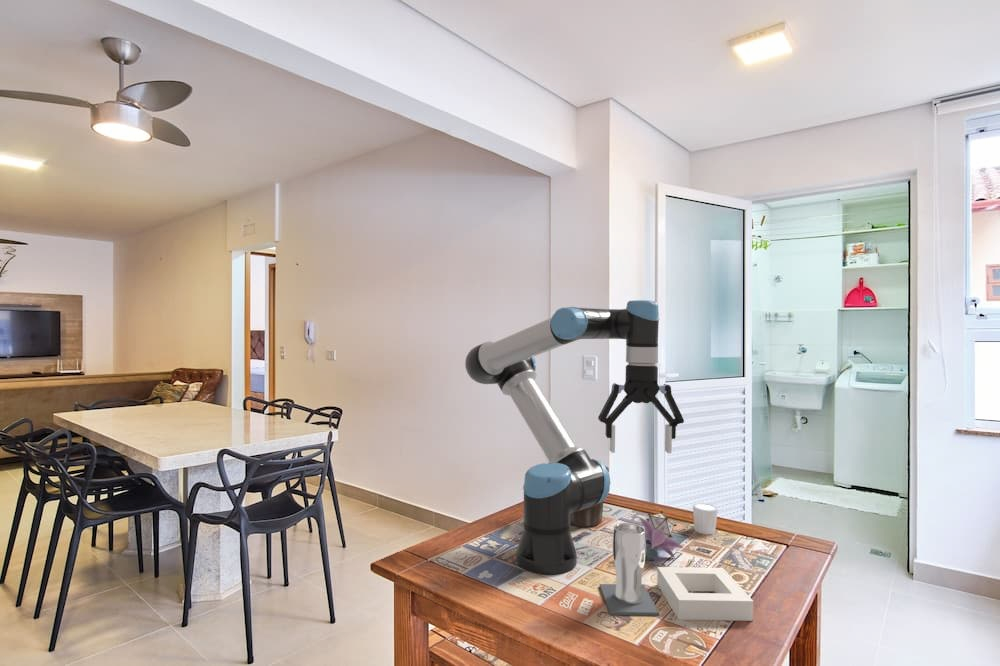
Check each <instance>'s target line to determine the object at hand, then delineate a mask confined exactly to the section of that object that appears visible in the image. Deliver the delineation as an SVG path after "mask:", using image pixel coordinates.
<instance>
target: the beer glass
mask: <svg viewBox="0 0 1000 666" xmlns="http://www.w3.org/2000/svg"><path fill="white" fill-rule="evenodd" d="M612 535H613V538H612V556H613V563H614V570H615V576H616V577H615V580H616V581H615V584H616V588H615V592H614V597H615V599H616V600H618V601H619V602H621V603H624V604H630V605H634V604H639V603H641V602H642V601H643V593H642V586H641V585H642V578H643V572H644V568H645V563H646V556H647V555H646V554H647V538H646V537H645V528H644V526H643V525H640V524H636V523H633V522H632V523H631V522H620V523H617V524H615V525H614V526H613V534H612Z"/></svg>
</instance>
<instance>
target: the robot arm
mask: <svg viewBox="0 0 1000 666" xmlns="http://www.w3.org/2000/svg"><path fill="white" fill-rule="evenodd" d="M625 307H626V308H622V309H616V308H615V309H613V308H612V309H610V308H608V309H606V308H591V307H589V308H587V307H576V306H568V307H561V308H559V309H557V310H555V312H554V314H553V315H552V316H551V317H550V318H548V319H546V320H543V321H540V322H539V323H536V324H533V325H532V326H531V325H530V326H529V327H526V328H525V329H522V330H520V331H517V332H515V333H513V334H511V335H507V337H504V338H501V339H499V340H496V341H495V342H493V341H486V342H483V343H481V344H479V345H476V346H475V347H472V348H471V350H469V352H468V353H467V355H466V357H465V362H464V364H465V365H464V366H465V370H466V373H467V375H468V376H469V377H470V379H472V380H473V381H474V382H476V383H478V384H482V385H495V384H497V386H498V387H499V388H500V391H501V393H502V394H503V395H505V396H510V397H511V399H512V401H513V403H514V404H515V406H516V408H517V409H518V411H519V412H520V413H519V414H521V416H522V418H523V419H524V421H525V423H526V425H527V426H528V428H529V430H530V431H531V433H532V435H533V437H534V438H535V441H536V442H537V443H538V445H539V446H540V448H541V450H542V452H543V454H544V455H545V457H546V458H547V460H548V463H545V462H544V463H540V464H536V465H534V466H533V465H532V467H529V469H527V471H526V472H525V474H524V483H523V489H522V490H523V530H522V532H521V535H520V539H519V541H518V545H517V548H516V551H515V552H516V553H515V556H516V557H515V561H516V563H517V565H518V566H520V567H521V568H522V569H524V570H526V571H528V572H533V573H536V574H542V575H543V574H544V575H558V574H563V573H567V572H569V571H571V570H573V569H574V568H575V567H576V566H577V563H578V562H577V560H578V556H577V555H578V554H577V550H576V547H575V544H574V540H573V536H572V534H571V525H570V514H571V513H574V512H577V511H580V510H582V509H585V508H588V507H593V506H595V505H596V504H598V503H600V502H602V501H603V500H604V501H605V500H606V499H607V497H608V495H609V493H610V490H611V476H610V473H609V472H608V470H607V469H606V467H607V466H606V465H605V464H604V463H602V462H601V461H600V460H596V459H594V458H590V455H589V454H588V453H587V451H586V450H585V448H581V447H577V446H576V444H575V442H574V441H573V440H572V438H571V436H570V434H569V433H568V431H567V430H566V428H565V426H564V425H563V423H562V422H561V419H559V417H558V416H557V414H556V412H555V410H554V409H553V408H552V406H551V404H550V403H549V401H548V399H547V398H546V396H545V394H544V393H543V391H542V390H541V388H540V387H539V385H538V383H537V382H536V378H537V372H536V369H537V365H536V358H535V357H536V356H538V355H541V354H544V353H546V352H549V351H551V350H554V349H557V348H559V347H562V346H564V345H568V344H570V343H573V342H575V341H579V340H605V339H606V340H620V339H621V340H625V363H627V364H626V365H625V382H624V384H618V383H616V382H615V383H613V384H612V385H611V391H610V394H609V395H608V398H607V400H606V402H605V404H604V406H603V407H602V409H601V412H600V413H599V415H598V418H597V419H598V420H599V422H601V423H603V424H605V437H606V439H609V446H608V447H609V451H610V452H611V453H612V454H613V453H614V454H615V453H616V424H614V422H615V421H616V420H617V419H618V417H620V415H621V414H622V413H623V412H624V411H625V410H626V408H627V407H629V405H631V404H632V403H636V404H641V403H643V404H649V403H652V405H653V406H654V407H655V408H656V409H657V411H658V412H659V413H660V414H661V415H662V417H663V418H664V419H665V420H666V422H668V424H667V423H666V424H665V427H664V429H665V430H664V432H665V434H664V451H665V453H667V454H672V444H673V442H672V441H673V440H675V439H676V437H677V436H676V435H677V434H676V433H677V429H676V428H677V427H678V425H680V424H684V422H685V419H684V417H683V415H682V413H681V411H680V408H679V407H678V404H677V403H676V401H675V398H674V396H673V394H672V386H671V384H670V385H669V384H667V383H664V384H663V385H662V384H661V385H659V384H658V379H659V376H658V372H659V368H658V367H659V366H657V365H656V364H658V362H659V343H658V342H659V324H660V323H659V321H660V317H659V315H660V314H659V304H658V303H657V302H656V301H655V300H647V299H646V300H645V299H644V300H643V299H641V300H638V299H637V300H629V301H627V303H626V306H625ZM623 391H624V392H625V394H626V395H625V396H624V397H623V399H622V400H621V402H620V403H619V404H618V405H617V406H616V407H615V409H614V410H612V411H611V409H612V408H613V406H614V404H615V402H616V400H617V398H618V396H619V394H621V393H622V392H623ZM659 392H660V393H661V394H663V395H664V398H665V400H666V402H667V404H668V407H669V408H670V411H671V412H672V414H673V417H672V415H671V414H670V413H669V411H668V410H667V409H666V408H665V407H664V405H663V404H662V403H661V401H660V400H659V399H658V397H657V396H656V395H657V394H658V393H659ZM610 411H611V413H610ZM609 413H610V414H609ZM605 466H606V467H605ZM604 501H603V502H604Z"/></svg>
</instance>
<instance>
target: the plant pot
mask: <svg viewBox="0 0 1000 666" xmlns="http://www.w3.org/2000/svg"><path fill="white" fill-rule="evenodd" d="M604 466H605V467H606V469H607V470H608V473H609V472H610V468H609V467H608V466H606V465H604ZM604 501H605V499H604V500H603V501H602V502H600V503H598V504H596V505H595V506H593V507H588V508H585V509H582V510H580V511H577V512H574V513H571V514H570V526H572V525H575V526H576V527H577V528H579V527H581V528H591V526H592V527H595V526H598V525H600V523H602V521H603V511H604Z"/></svg>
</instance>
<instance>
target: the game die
mask: <svg viewBox="0 0 1000 666" xmlns="http://www.w3.org/2000/svg"><path fill="white" fill-rule="evenodd" d="M663 513H664V512H663V510H660V513H656V514H653V515H652V514H651V513H649V512H648V513H647V514H648V516H649V517H648V518H646V519H645V521H647V522H648V523H649V524H651V525H652V526H653V527H654V529H655V530H656V529H659V528H660V529H662V530H663V532H664V534H665V537H668V538H671V539H673V535H672V533H673V530H674V527H677V526H678V524H676V523H675V524H674V523H672V521H671V520H669V517H668V516H666V515H664V514H663ZM645 532H646V530H645Z"/></svg>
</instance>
